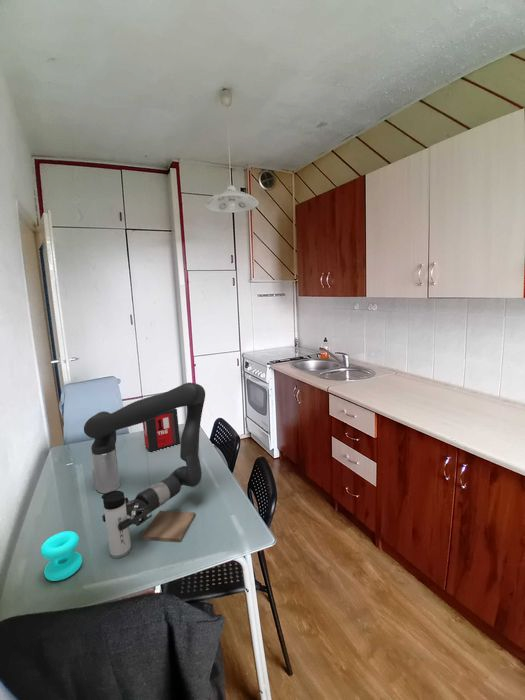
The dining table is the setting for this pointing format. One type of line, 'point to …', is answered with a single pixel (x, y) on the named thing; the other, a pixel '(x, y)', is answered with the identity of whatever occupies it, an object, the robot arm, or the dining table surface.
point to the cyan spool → (61, 555)
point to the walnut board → (168, 526)
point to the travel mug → (116, 523)
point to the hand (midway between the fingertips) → (110, 523)
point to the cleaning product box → (162, 431)
